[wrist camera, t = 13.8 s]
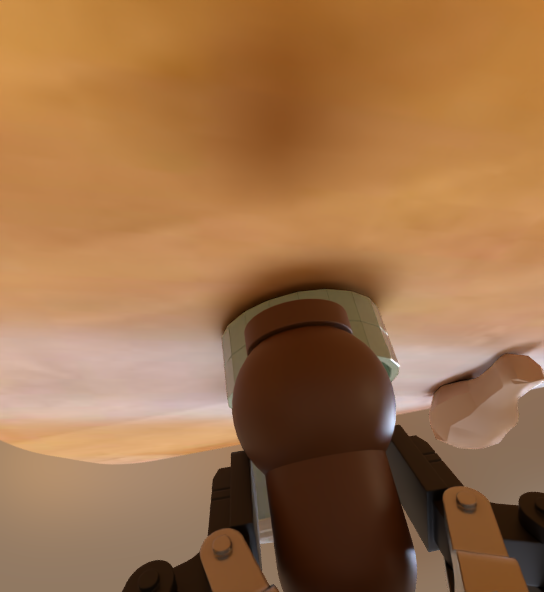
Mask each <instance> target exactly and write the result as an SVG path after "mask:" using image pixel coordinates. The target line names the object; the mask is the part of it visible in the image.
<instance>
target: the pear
mask: <svg viewBox="0 0 544 592" xmlns="http://www.w3.org/2000/svg"><path fill="white" fill-rule="evenodd" d="M244 336H245V344H246V352H247V356H248V357H247V358H246V360H245V361H244V363H243V365H242V367H241V369H240V371H239V373H238V376H237V378H236V382H235V386H234V390H233V398H232V415H233V421H234V426H235V430H236V433H237V436H238V439H239V441H240V443H241V446H242V448H243V449H244V451H245V453H246V454H247V456H248V458H249V459H250V460H251V461H252V462H253V464H254V465H255V466H256V467H257V468H258V469H259V470H260V471H261V472H262V473H263V474H264V475H265V479H266V486H267V494H268V502H269V510H270V517H271V525H272V533H273V540H274V548H275V555H276V563H277V570H278V575H279V579H280V583H281V586H282V589H283V591H284V592H415V589H416V579H417V564H416V556H415V551H414V547H413V543H412V539H411V536H410V533H409V529H408V526H407V522H406V519H405V516H404V513H403V509H402V506H401V502H400V499H399V495H398V492H397V489H396V485H395V482H394V479H393V475H392V472H391V469H390V465H389V462H388V459H387V455H386V451H387V448H388V446H389V444H390V442H391V438H392V435H393V431H394V427H395V420H396V403H395V395H394V391H393V387H392V384H391V381H390V378H389V376H388V373H387V371H386V369H385V368H384V366H383V364H382V362H381V361H380V360H379V358H378V357H377V356H376V355H375V353H374V352H373V351H372V350H371V349H370V348H369V347H368V346H367V345H366V344H365V343H364V342H362V341H361V340H360V339H358V338H357V337H355V336H354V335H353V332H352V329H351V325H350V322H349V319H348V315H347V313H346V310H345V309H344V308H343V307H342V306H341V305H340V304H338V303H336V302H333V301H329V300H325V299H299V300H293V301H288V302H284V303H281V304H278V305H275V306H272V307H270V308H268V309H266V310H264V311H262V312H260V313H259V314H257V315H256V316H254V317H253V318H252V319H251V320H250V321H249V322H248V324H247V325H246V327H245V331H244Z"/></svg>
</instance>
